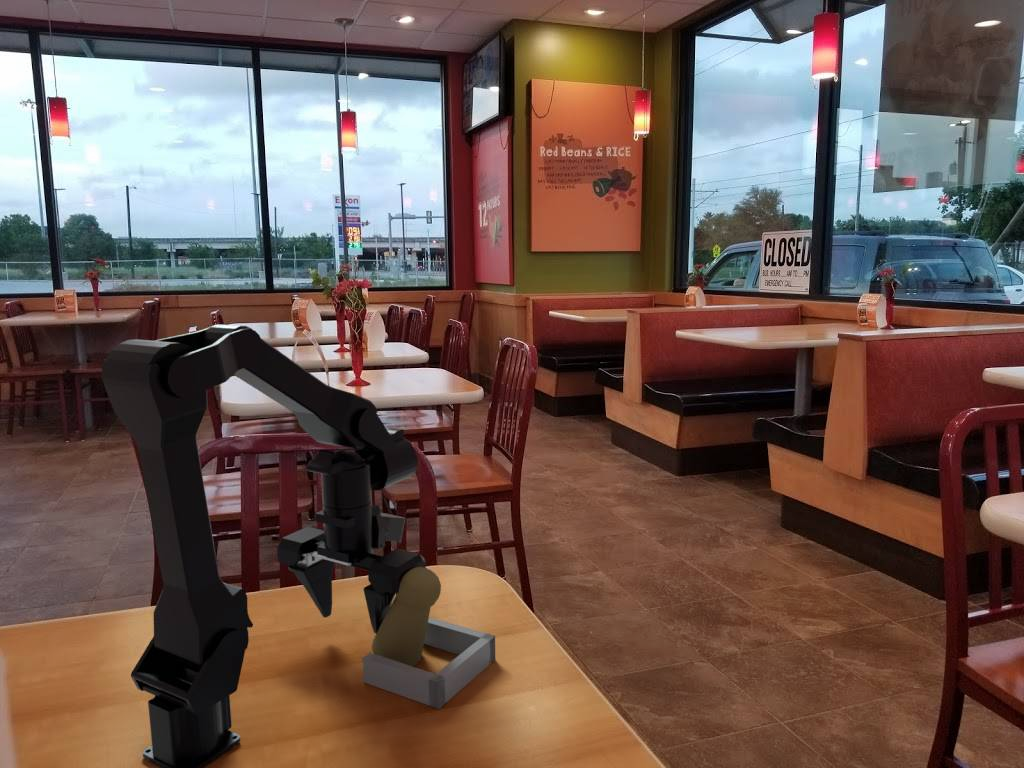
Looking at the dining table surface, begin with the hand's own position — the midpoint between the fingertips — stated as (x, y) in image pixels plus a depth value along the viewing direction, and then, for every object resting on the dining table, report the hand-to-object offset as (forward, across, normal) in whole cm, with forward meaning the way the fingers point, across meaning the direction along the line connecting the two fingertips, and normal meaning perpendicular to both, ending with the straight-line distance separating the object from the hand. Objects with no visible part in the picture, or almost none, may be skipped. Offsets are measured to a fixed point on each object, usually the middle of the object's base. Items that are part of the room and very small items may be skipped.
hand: (352, 623), depth 94 cm
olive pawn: (+2, -7, 0) cm, 7 cm away
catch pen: (+2, -11, 0) cm, 12 cm away
